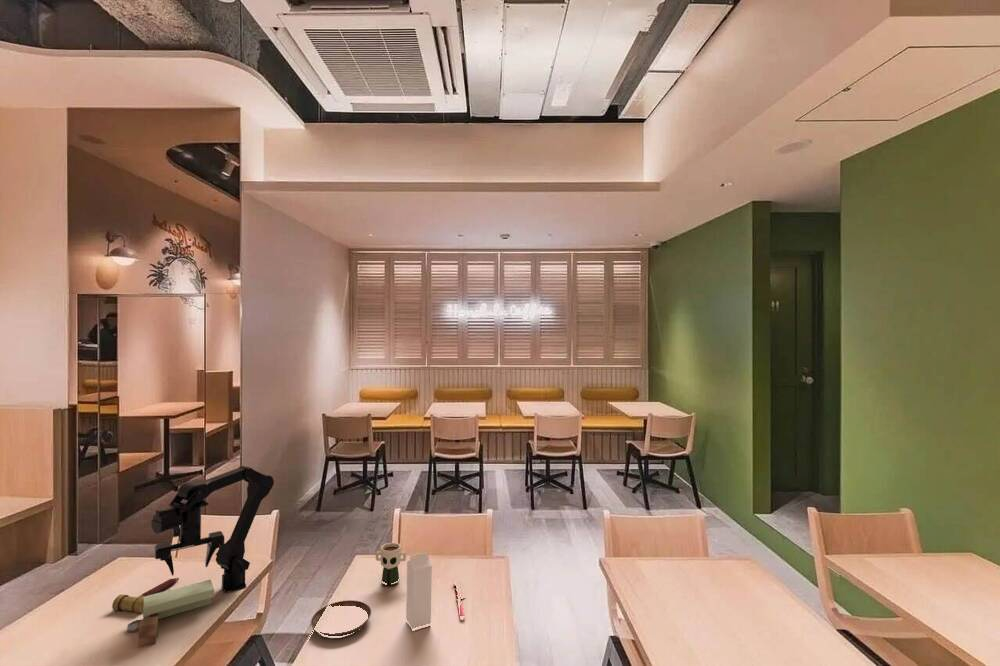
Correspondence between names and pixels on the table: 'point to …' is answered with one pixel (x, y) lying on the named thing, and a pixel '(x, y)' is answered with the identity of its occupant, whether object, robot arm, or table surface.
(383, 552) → the character mug
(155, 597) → the plinth shelf
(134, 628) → the token
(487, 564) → the table surface
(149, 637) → the pusher tool
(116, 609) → the gavel
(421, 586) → the milk
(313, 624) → the plant saucer
